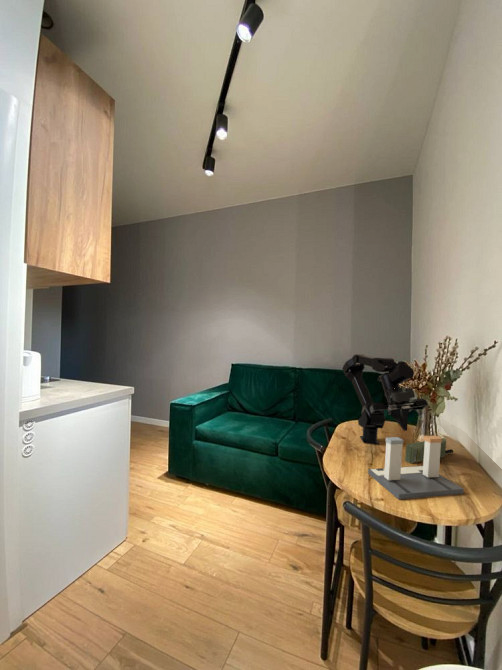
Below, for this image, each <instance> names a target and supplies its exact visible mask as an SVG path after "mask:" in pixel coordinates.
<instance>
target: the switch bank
mask: <svg viewBox="0 0 502 670" xmlns="http://www.w3.org/2000/svg"><path fill="white" fill-rule="evenodd" d="M384 471H385V467H382V468H381V467H380V468H379V467H378V468H369V469H368V470H367V472H368V475H369V476H370V477H371V478H373V479H374V480H375V481H376V482H378V484H379V485H380V486H382V487H383V488H384V489H386V490H387V491H388V492H389V493H390V494H391V495H393V497H394V498H396V499H397V500H409V499H422V498H431V497H442V496H452V495H453V496H454V495H463V494H464V491H465V490H464V488H463V487H461V486H460V485H458V484H457V483H455V482H453V481H452V480H450V479H448V478H446V477H445V476H443V475H442V474H441V473H439V477H429V478H428V477H426V476H425V475H423V465H413V466H412V465H411V466H401V474H400V480H387V479H386V478H385V477H384Z"/></svg>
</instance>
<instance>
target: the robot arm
mask: <svg viewBox="0 0 502 670" xmlns="http://www.w3.org/2000/svg"><path fill="white" fill-rule="evenodd" d="M365 366H368V367H371V369H372V370H374V371H375V372H376V373H380V374H379V376H378V378H377V382H381V384H382V385H381V386H382V389H383V391H384V397H385V398H386V401H387V404H384V402H383V401H382V402H374V401H373V399H372V396H371V394H370V392H369V389H368V387H367V385H366V383H365V381H364V379H363V373H364V370H365V369H366V367H365ZM342 372H343V374H344V376H345V377H346V378H347V379H348V380H349V381H350V382H351V383H352V385H353V388H354V391H355V393H356V395H357V397H358V399H359V403H360V405H361V407H362V409H361V413H360V414H361V416H359V418H358V419H357V423H358V426H359V427H361V428H362V435H360V436H359V438H360V440H361V441H362V443H364V444H373V445H380V443H381V442H379V440H378V429H384V426H385V422H386V416H385V412H384V411H387V415H390V416H391V417H392V418H393V419H394V420H395V421H396V423H397V424H398V425H399V427H400V428H401V429H402V430H403V431H404V432H406V431H408V417H409V413H410V412H411V411H412V410H413V411H419V410H421V411H422V410H425V409H426V408H427V407H429V402H428V400H427V399H425V397H424V398H416V395H415V391H414V389H413V387H410V388H405V390H403V388H402V387H401V386H400V384H404V383H405V382H407V381H408V380H410V379H412V378H413V377H414V375H415V371H414V369H413V368H411V366H410V365H408V364H407V363H406V361H404V360H403V361H401V360H399V361H398V362H396V361H395V359H394V358H392V357H374V356H369V355H366V354H353V356H352V357H351V358H349V359H348V360H347V361H346V362H344V364H343V366H342ZM381 373H383V374H381ZM394 388H395V389H394ZM410 398H411V399H412V400H411V399H410ZM413 398H415V399H413Z"/></svg>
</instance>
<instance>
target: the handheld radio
mask: <svg viewBox="0 0 502 670" xmlns="http://www.w3.org/2000/svg"><path fill="white" fill-rule="evenodd" d="M441 438H442V442H441V449H440V457H441V458H444V457H446V454H453V453H454V450H453V448H452V449H451V448H450V449H447V439H446V438H443V437H441ZM424 445H425V440H424V441H419V442H412V443H407V444H406V449H405V455H404V457H405V458H404V461H405V462H406V463H409V464H416V463H420V461H421V462H423V461H424ZM415 462H416V463H415Z"/></svg>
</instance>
